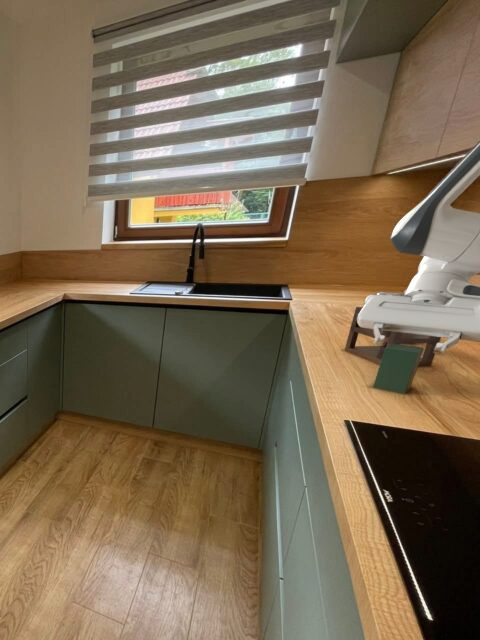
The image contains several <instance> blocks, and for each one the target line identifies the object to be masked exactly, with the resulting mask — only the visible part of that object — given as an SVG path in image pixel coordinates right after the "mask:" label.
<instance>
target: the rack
mask: <svg viewBox="0 0 480 640" xmlns="http://www.w3.org/2000/svg"><path fill="white" fill-rule="evenodd" d="M363 307H364V306H356V307H355V309H354V314H353V318H352V321H351V324H350V328H349V331H348V336H347V339H346V343H345V347H344V351H345V352H347V353H350V354H353V355H354V356H358V357H360V358H363V359H365V360H368V361H370V362H373V363H375V364H377V365H380V363H381V360H382V356H383V353H384V350H385V348H386V347H387V346H389V345H390V344H391V343H394V344H401V345H410V344H411V345H412V344H413V345H414V344H416V345H418V344H426V345H425V347H424V350H423V353H422V356H421V358H420V361H419V364H418V367H431V366H432V364H433V361H434V359H435V356H436V354H435V353H433V352H434V348H435V347H436V344H437V343H441V339H442V337H435V336H427V335H419V334H410V333H402V332H394V331H386V330H383V332H382V333H380V334H381V335H384V336H385V342H384V343H383V345H382V346H380V345H356V343H357V340H358V336H359V335H360V334H361V335H363V336H366V337H370V338H373V339H375V335H374V329H370V328H362V327H360V326H359V325H358V323H357V317H358V314H359V313H360V311H361V310H362V308H363Z"/></svg>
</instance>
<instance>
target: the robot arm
mask: <svg viewBox="0 0 480 640" xmlns="http://www.w3.org/2000/svg"><path fill="white" fill-rule="evenodd" d="M479 176H480V140H479V141H478V142H476V144H475V145H473V146H472V148H471V149H470V150H469V151H468V152H467V153H466V154H465V155H464V156H463V157H462V158H461V159H460V160H459V161H458V162H457V163H456V164H455V166H453V168H451V170H450V171H449V172H448V173H447V174H446V175H445V176H444V177H443V178H442V179H441V180H440V181H439V182H438V183H437V184H436V185H435V186H434V187H433V188H432V189H431V191H429V193H428V194H426V196H425V197H424V198H423V199H422V200H421V201H420V202H419V203H418V204H416V205H415V207H413V208H412V209H410V211H408V212H407V213H406V214H405V215H404V216H403V217H402V218H401V219H400V220H399V221H398V222H397V224H396V225H395V226H394V228H393V230H392V231H391V232H392V233H391V235H390V237H389V238H390V241H391V244H392V247H394V249H395V250H396V251H397V252H398V254H403V255H411V256H417V257H419V256H421V257H422V259H421V261H420V262H419V264H418V267H417V273H416V274H415V275H414V276H413V277H412V279H411V281H410V282H409V284H408V286H407V289H405V290H406V292H405V293H404V292H386V291H378V292H377V293H371V294H369V295H368V296H367V297H366V298H365V301H364V303H363V304H364V306H362V307H363V308H362V310H361V311H360V313H359V314H358V317H357V323H358V325H359V326H360V327H362V328H370V329H374V335H375V338H373V343H372V344H373V346H382V345H383V343H384V342H385V336H384V335H381V334H380V333H382V332H383V330H386V331H394V332H402V333H410V334H419V335H427V336H435V337H441V338H444V339H447V340H446V341H444V342H439V343H437V344H436V347H435V348H434V352H433V353H435V355H441V356H443V355H444V354H445V353H446V351H447V350H448V349H449V348H451V347H453V346H455V345H457V344H458V343H459V341H467V342H475V343H480V285H478V284H477V285H476V284H473V283H470V279H471V278H472V277H473V276H480V212H479V213H478V212H474V211H468V210H465V209H464V210H463V209H458V208H454V207H452V206H451V204H452V203H453V202H454V201H456V199H458V197H459V196H460V195H461V194H462V193H464V192H465V190H466V189H467V188H469V186H470V185H472V184H473V182H475V180H477V178H479Z"/></svg>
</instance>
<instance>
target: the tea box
mask: <svg viewBox="0 0 480 640" xmlns="http://www.w3.org/2000/svg"><path fill="white" fill-rule="evenodd" d="M424 351H425V347H421V346H414V345H409V344H394V343H391V344H390V345H389V346H387V347H386V348H385V350H384V353H383V356H382V360H381V363H380V364H379V366H378V370H377V372H376V375H375V378H374V379H375V380H374V384H373V385H372V388H374V389H379V390H384V391H389V392H393V393H399V394H403V395H404V394H406V393H407V392H408V391H409V390H410V389H411V388H412V385H413V382H414V379H415V376H416V374H417V370H418V368H419V366H418V364H419V361H420V358H422V357H423V354H424Z"/></svg>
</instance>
